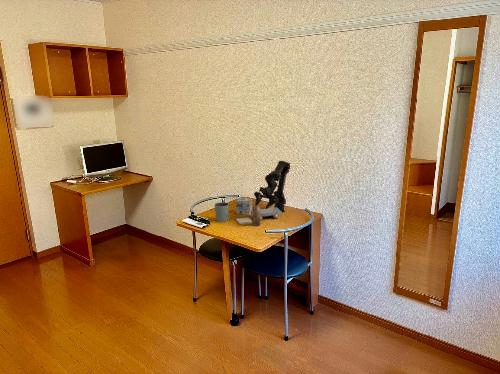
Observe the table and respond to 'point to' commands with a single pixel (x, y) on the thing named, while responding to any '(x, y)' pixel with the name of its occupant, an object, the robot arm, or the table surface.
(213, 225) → the table surface
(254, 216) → the walnut roller
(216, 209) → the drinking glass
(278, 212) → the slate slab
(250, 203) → the light bulb box
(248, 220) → the pad
